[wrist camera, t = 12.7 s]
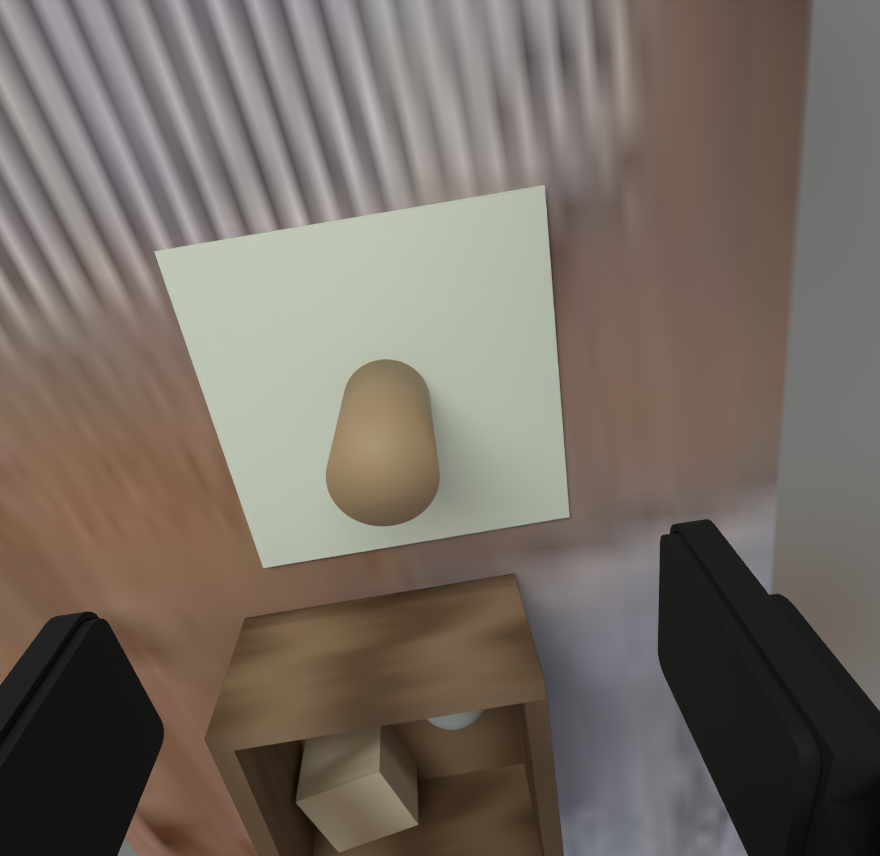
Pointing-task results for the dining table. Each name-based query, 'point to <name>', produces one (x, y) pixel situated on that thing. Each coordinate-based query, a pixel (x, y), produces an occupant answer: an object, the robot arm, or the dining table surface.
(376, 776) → the beech block
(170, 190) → the dining table surface
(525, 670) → the walnut box
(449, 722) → the grey ball
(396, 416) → the lid
